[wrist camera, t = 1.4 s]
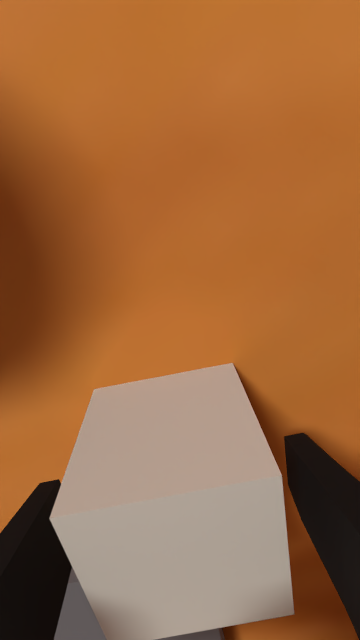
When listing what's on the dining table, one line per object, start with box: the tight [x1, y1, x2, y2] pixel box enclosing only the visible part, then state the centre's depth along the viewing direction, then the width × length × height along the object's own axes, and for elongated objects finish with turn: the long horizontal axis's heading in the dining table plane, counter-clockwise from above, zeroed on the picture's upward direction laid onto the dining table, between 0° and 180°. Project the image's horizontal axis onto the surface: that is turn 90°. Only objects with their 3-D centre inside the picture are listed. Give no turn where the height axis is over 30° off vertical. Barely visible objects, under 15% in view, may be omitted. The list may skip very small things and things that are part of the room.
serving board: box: [54, 567, 225, 640], centre depth 15 cm, size 14×10×2 cm
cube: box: [49, 363, 294, 640], centre depth 10 cm, size 5×5×5 cm
